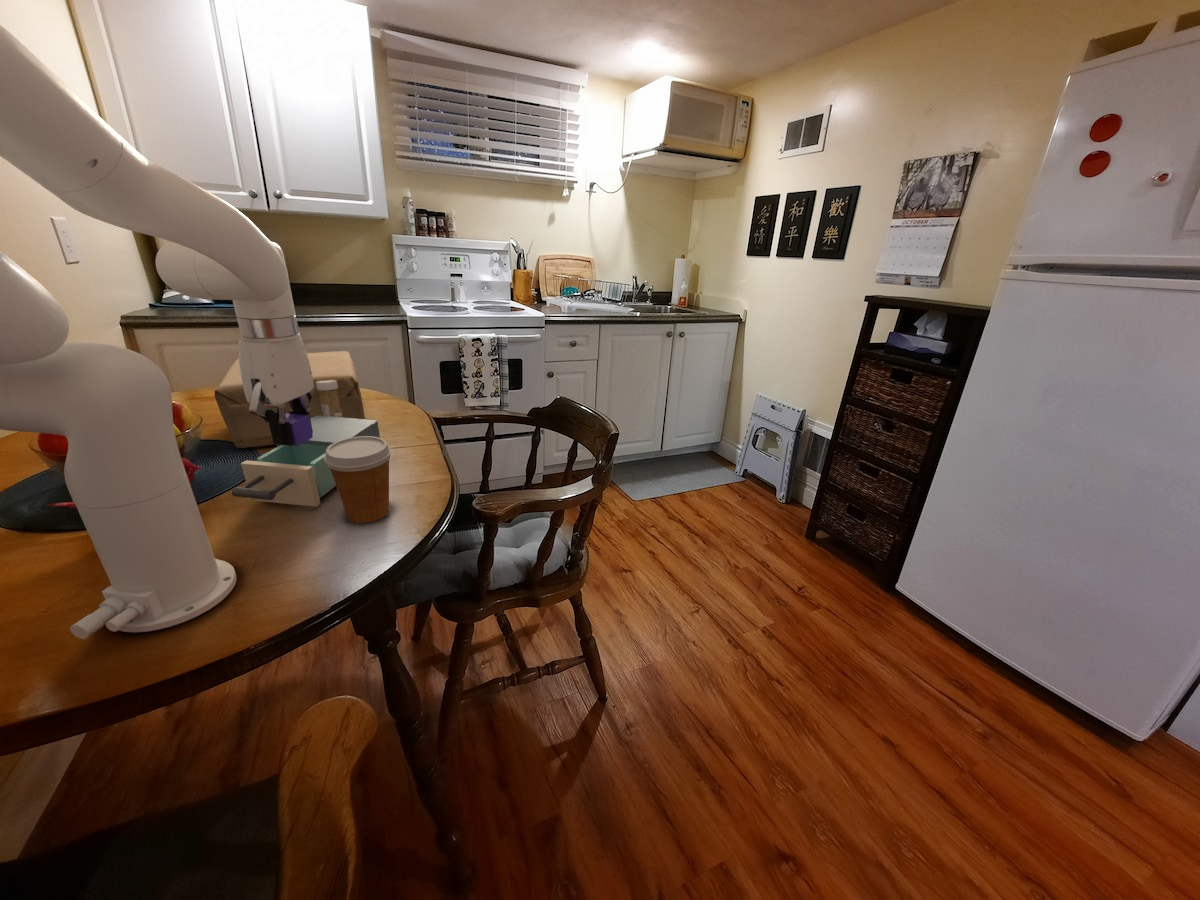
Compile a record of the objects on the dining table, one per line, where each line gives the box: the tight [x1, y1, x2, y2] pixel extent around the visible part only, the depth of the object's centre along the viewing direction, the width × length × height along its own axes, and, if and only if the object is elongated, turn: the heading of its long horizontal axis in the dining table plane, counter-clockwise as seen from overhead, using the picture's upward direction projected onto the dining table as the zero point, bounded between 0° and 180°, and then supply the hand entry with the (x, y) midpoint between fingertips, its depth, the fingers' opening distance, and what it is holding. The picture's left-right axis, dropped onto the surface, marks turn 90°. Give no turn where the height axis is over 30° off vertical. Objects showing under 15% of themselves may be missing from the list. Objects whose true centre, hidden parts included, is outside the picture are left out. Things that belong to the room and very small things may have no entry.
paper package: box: [214, 350, 366, 449], centre depth 111 cm, size 27×26×14 cm
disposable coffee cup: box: [324, 436, 392, 524], centre depth 78 cm, size 10×10×12 cm
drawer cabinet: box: [276, 415, 381, 447], centre depth 92 cm, size 12×13×9 cm
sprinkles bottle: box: [316, 380, 342, 417], centre depth 105 cm, size 5×5×14 cm
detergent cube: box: [285, 414, 313, 446], centre depth 81 cm, size 4×4×4 cm
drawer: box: [231, 444, 337, 507], centre depth 81 cm, size 16×11×7 cm
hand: (293, 437), depth 82 cm, fingers closed on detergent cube, 4 cm apart
